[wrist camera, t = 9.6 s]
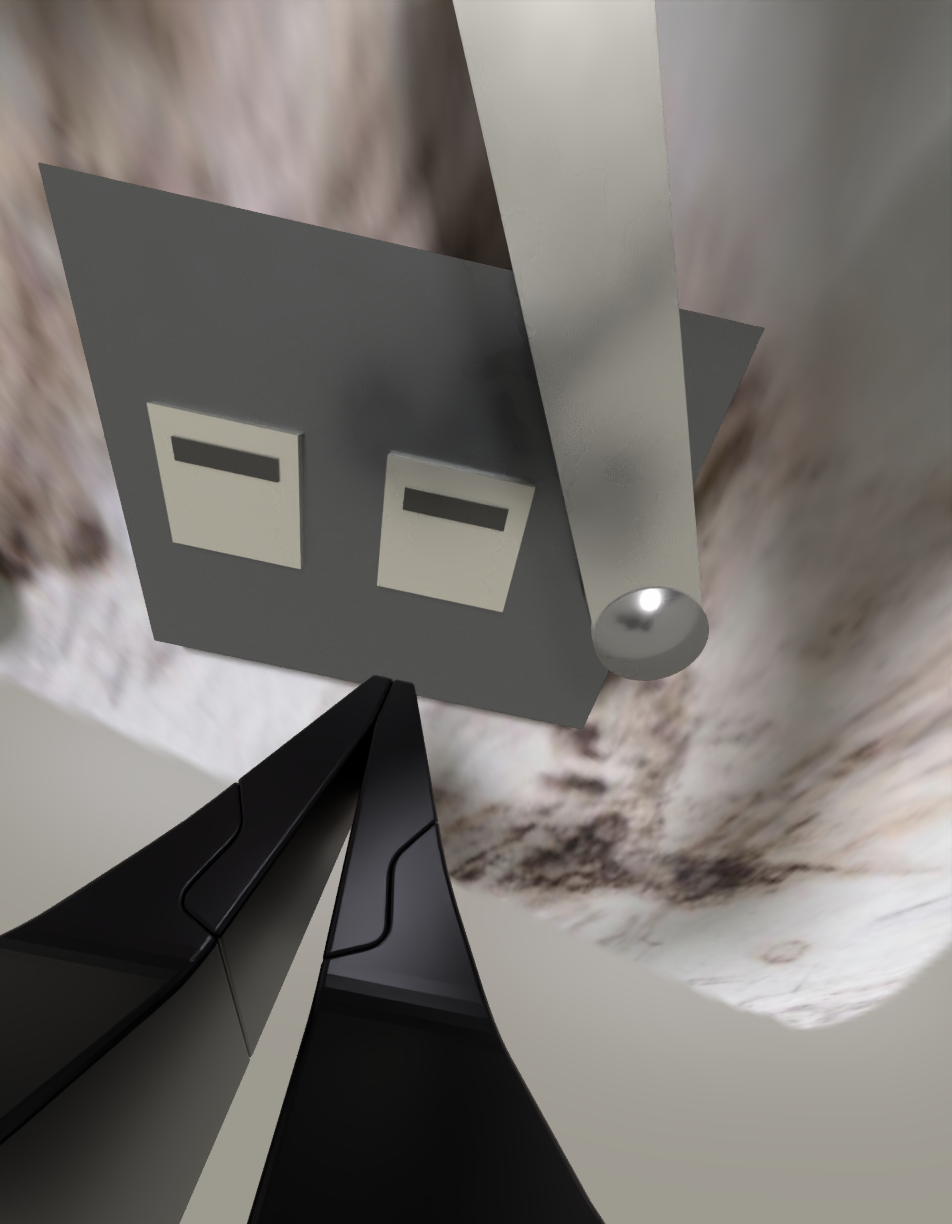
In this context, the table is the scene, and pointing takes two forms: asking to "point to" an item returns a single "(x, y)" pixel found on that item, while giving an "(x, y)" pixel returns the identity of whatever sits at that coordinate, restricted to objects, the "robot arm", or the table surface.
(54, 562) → the table surface
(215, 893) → the robot arm
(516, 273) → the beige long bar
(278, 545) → the panel
